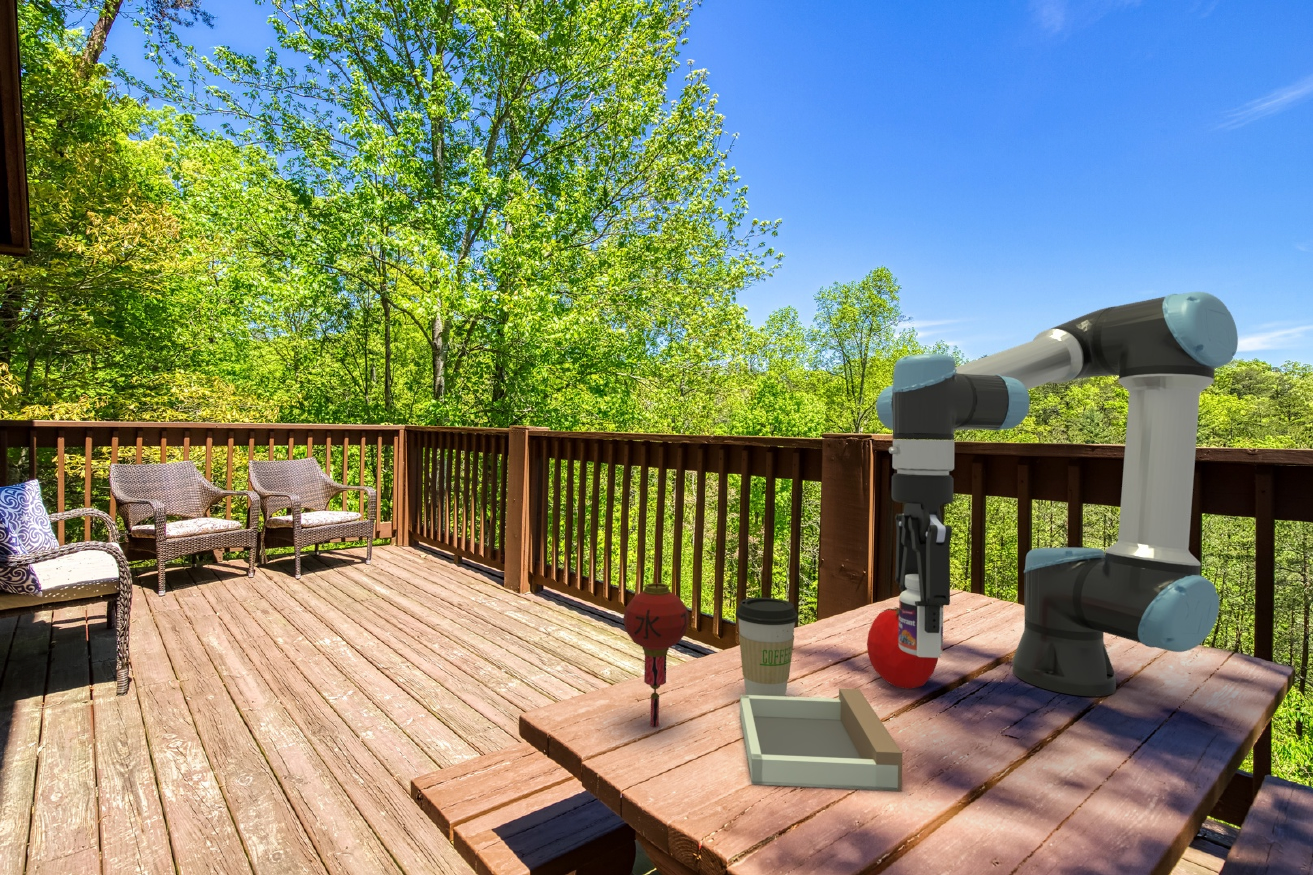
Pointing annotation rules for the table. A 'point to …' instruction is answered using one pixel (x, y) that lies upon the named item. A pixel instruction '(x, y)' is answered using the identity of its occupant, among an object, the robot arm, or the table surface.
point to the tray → (819, 742)
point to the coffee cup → (766, 644)
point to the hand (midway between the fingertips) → (919, 648)
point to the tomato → (896, 654)
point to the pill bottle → (911, 615)
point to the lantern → (656, 630)
